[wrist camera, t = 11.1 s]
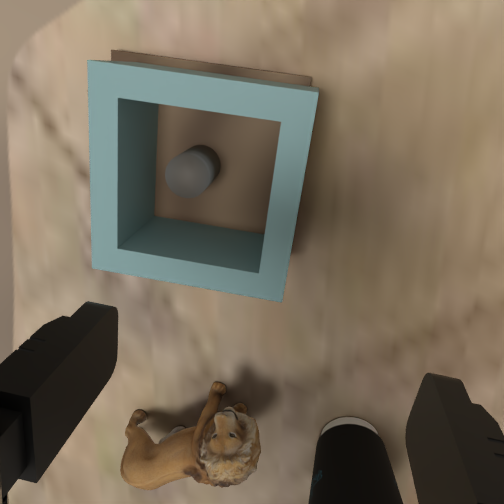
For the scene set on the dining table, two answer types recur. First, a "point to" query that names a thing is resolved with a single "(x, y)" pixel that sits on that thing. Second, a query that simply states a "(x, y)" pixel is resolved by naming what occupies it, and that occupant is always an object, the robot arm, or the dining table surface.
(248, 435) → the lion figurine
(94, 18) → the dining table surface
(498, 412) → the dining table surface
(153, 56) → the shaft block
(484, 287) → the dining table surface
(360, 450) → the dixie cup
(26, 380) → the robot arm
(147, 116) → the collar
